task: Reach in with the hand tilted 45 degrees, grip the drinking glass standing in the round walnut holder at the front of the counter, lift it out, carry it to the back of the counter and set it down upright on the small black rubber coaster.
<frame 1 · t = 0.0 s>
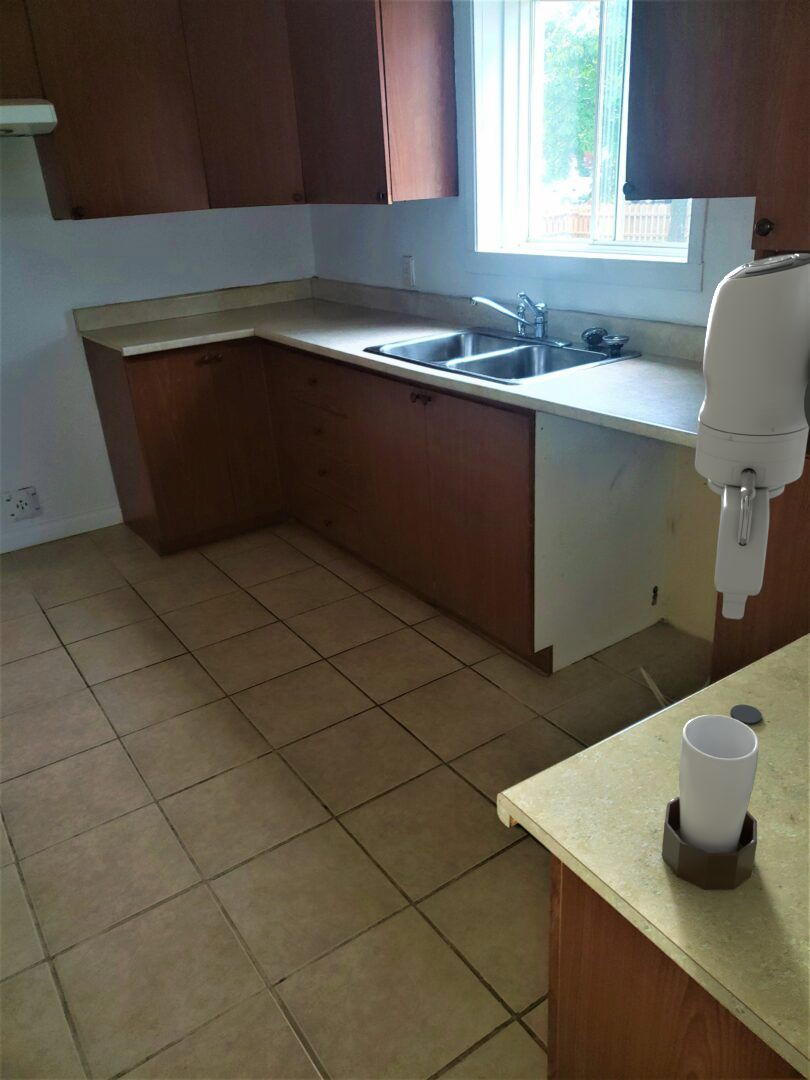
hand: (733, 589, 77), 26 cm above the countertop, tool pointing down, fingers open, 8 cm apart
coaster: (745, 715, 100), on the countertop
drinking glass: (706, 856, 82), resting in holder
holder: (706, 855, 82), on the countertop
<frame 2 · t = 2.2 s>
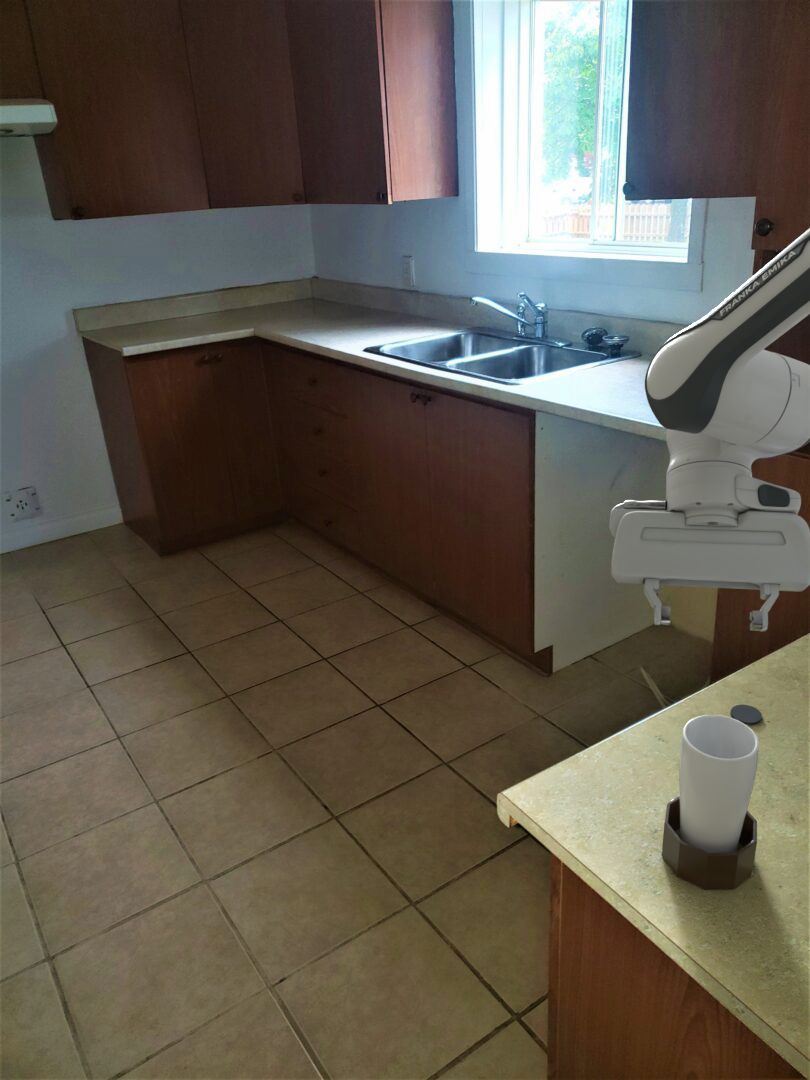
hand: (709, 627, 84), 19 cm above the countertop, tool tilted 45°, fingers open, 8 cm apart
nothing on the countertop moved.
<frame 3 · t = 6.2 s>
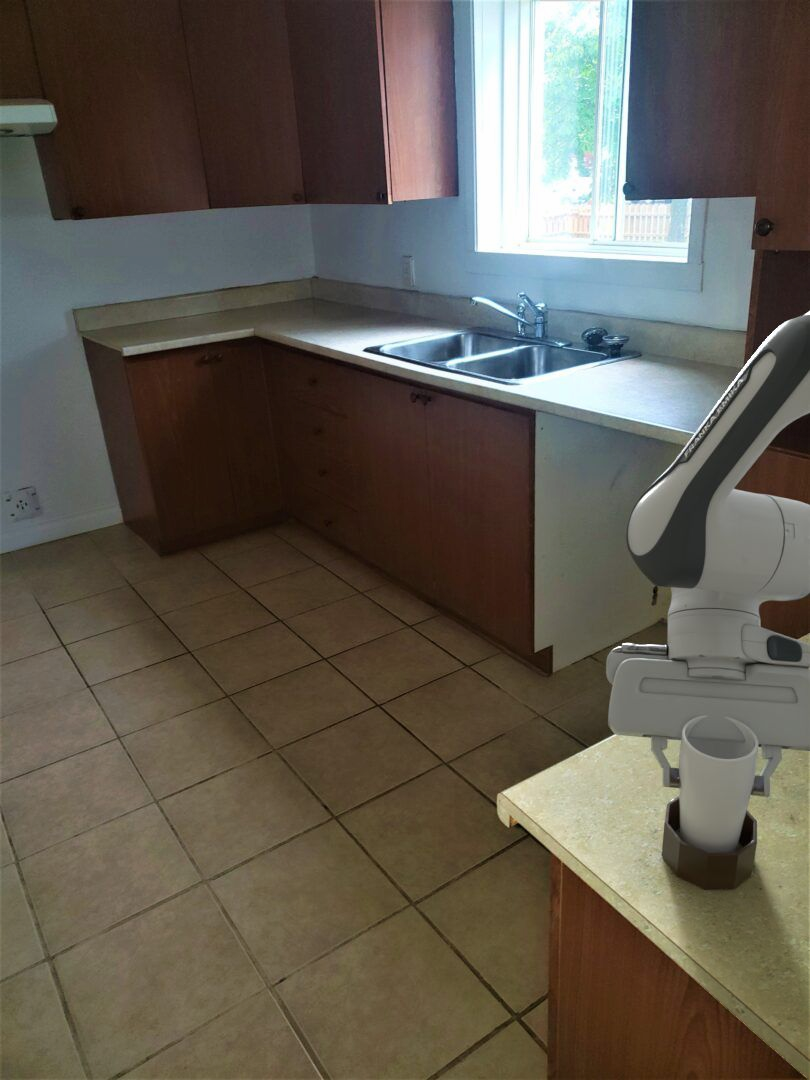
hand: (715, 791, 77), 9 cm above the countertop, tool tilted 45°, fingers closed on drinking glass, 6 cm apart
drinking glass: (706, 856, 82), resting in holder, touching gripper
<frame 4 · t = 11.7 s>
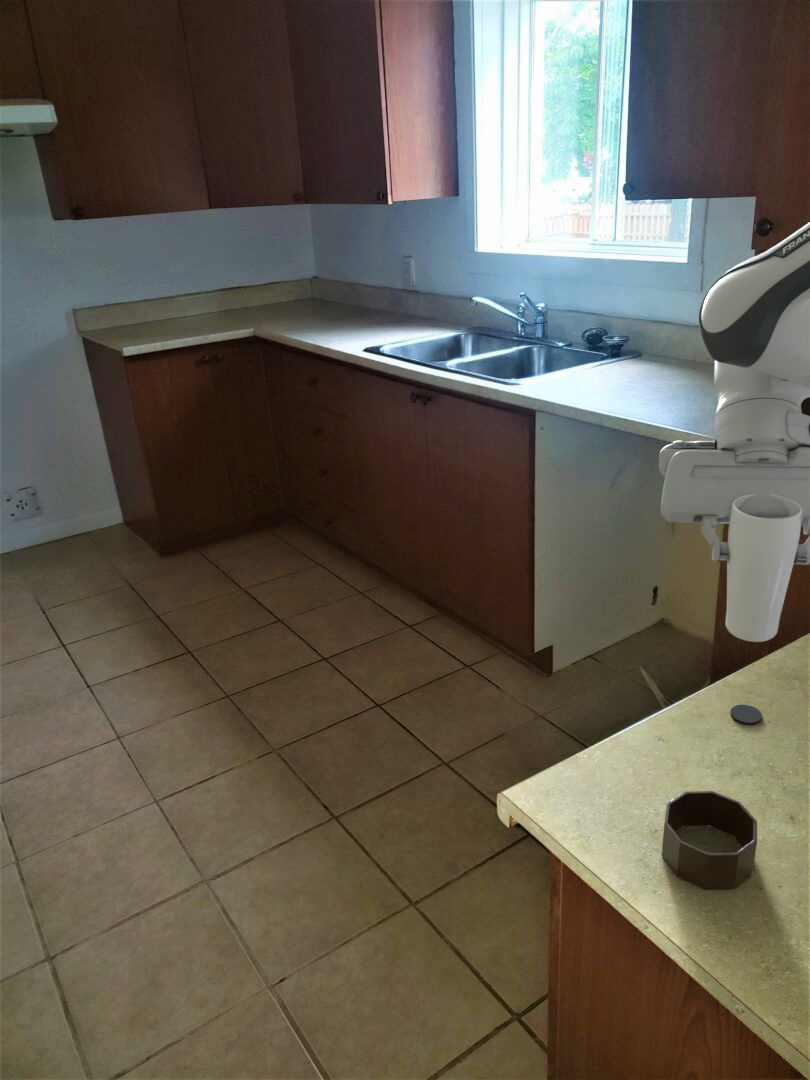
hand: (761, 561, 85), 24 cm above the countertop, tool tilted 45°, fingers closed on drinking glass, 6 cm apart
drinking glass: (750, 632, 89), point 15 cm above the countertop, touching gripper
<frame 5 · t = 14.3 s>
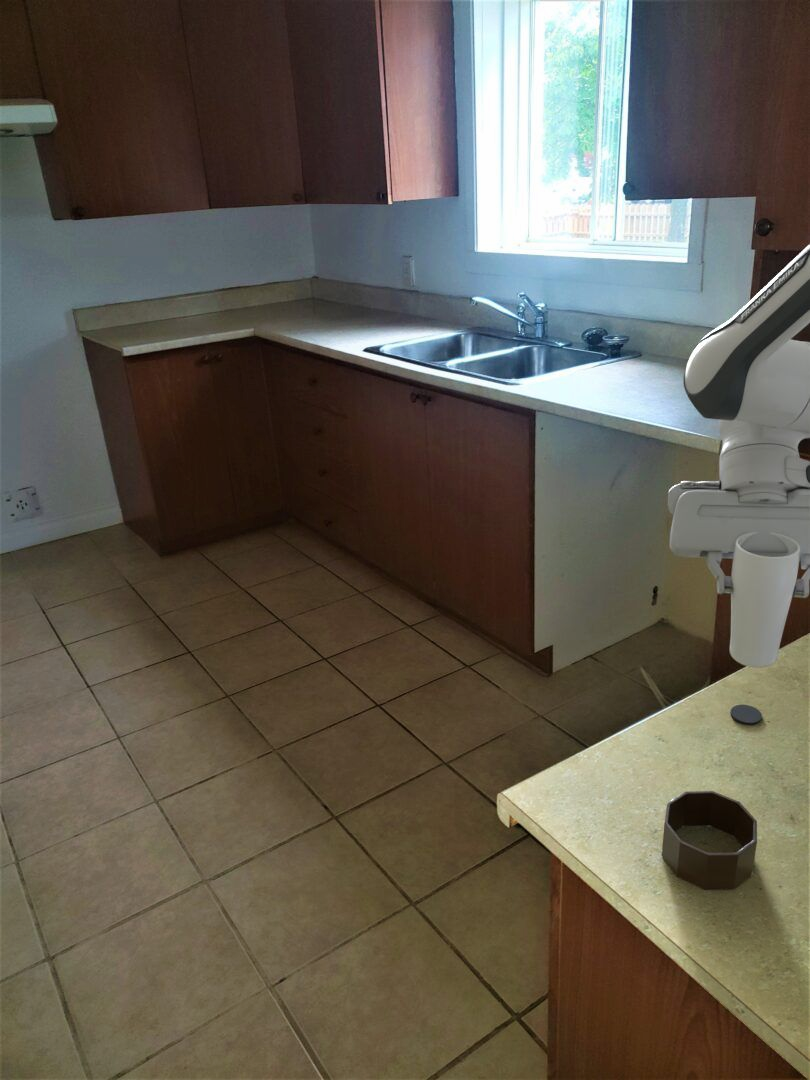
hand: (762, 594, 92), 17 cm above the countertop, tool tilted 45°, fingers closed on drinking glass, 6 cm apart
drinking glass: (752, 658, 97), point 8 cm above the countertop, touching gripper
when the fingers open (9 cm above the countertop, at t = 17.1 s): drinking glass stays where it is, resting on coaster.
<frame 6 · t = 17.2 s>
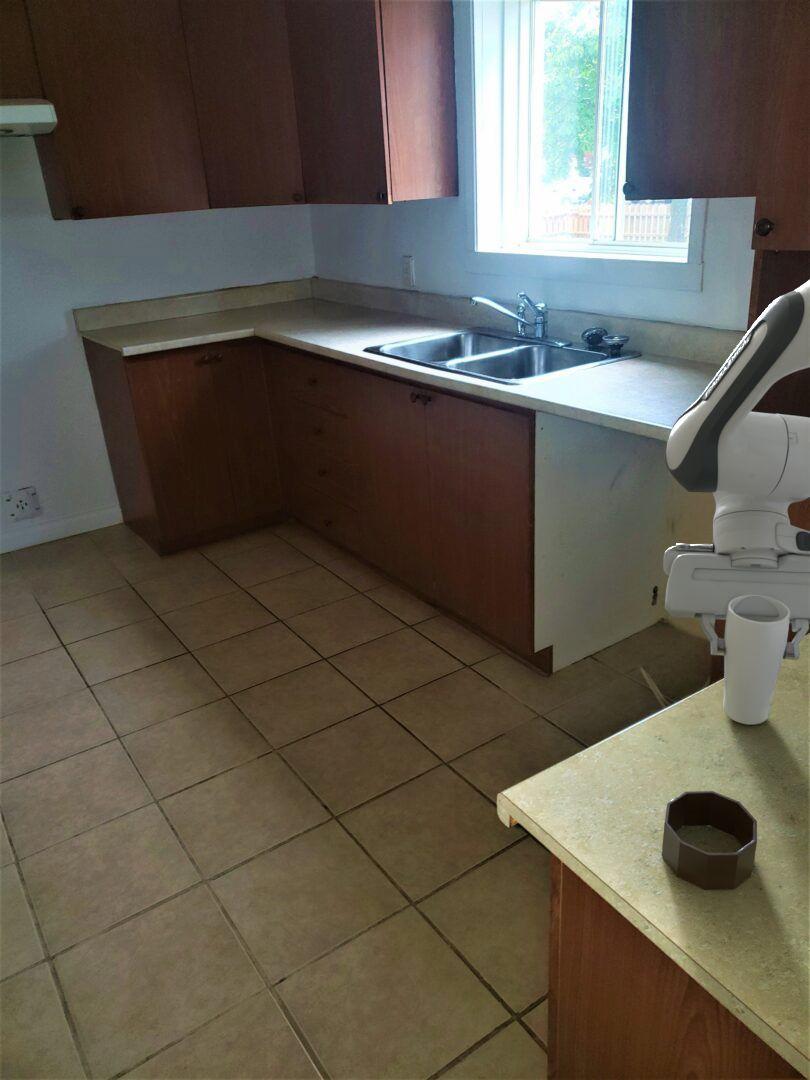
hand: (754, 656, 96), 9 cm above the countertop, tool tilted 45°, fingers open, 7 cm apart
drinking glass: (745, 714, 100), resting on coaster
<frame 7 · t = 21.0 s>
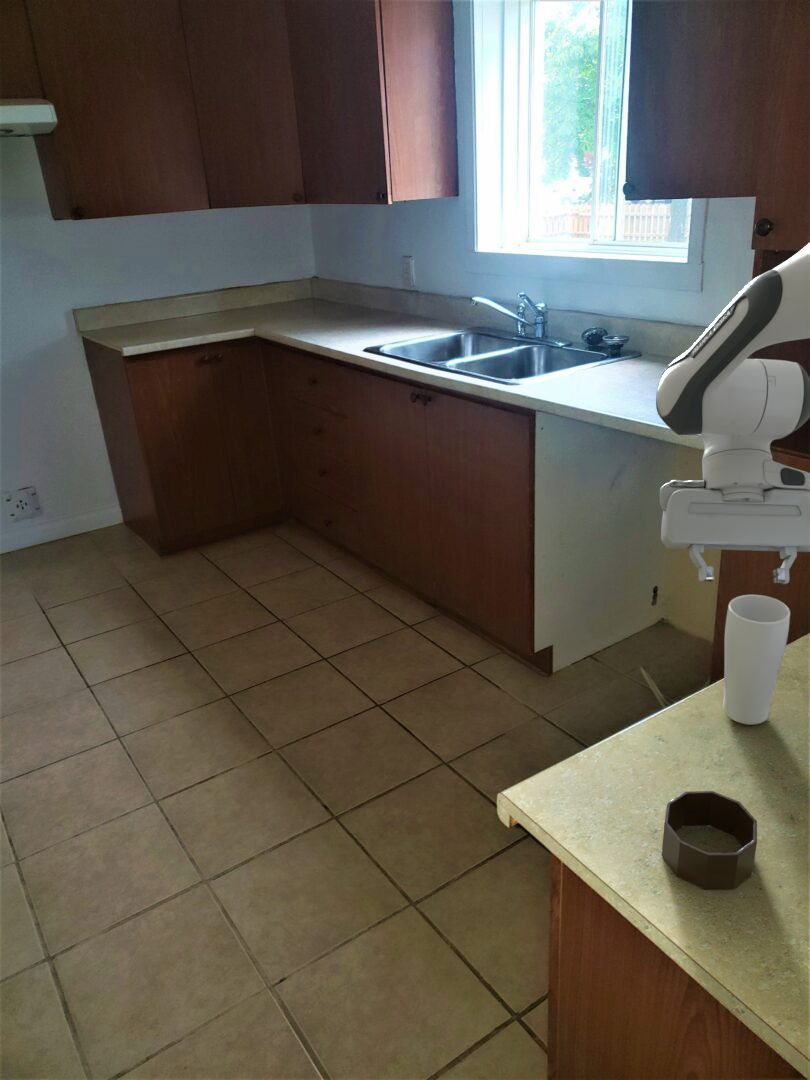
hand: (743, 582, 106), 12 cm above the countertop, tool tilted 40°, fingers open, 8 cm apart
nothing on the countertop moved.
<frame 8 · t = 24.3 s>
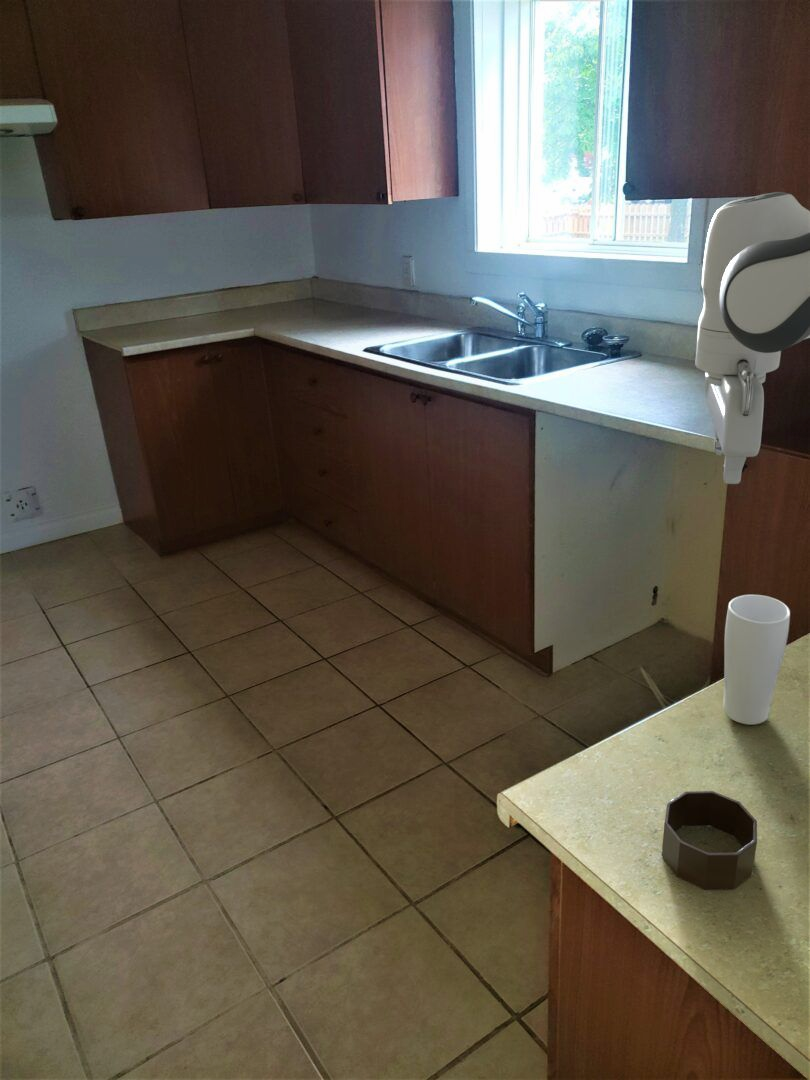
hand: (726, 466, 97), 29 cm above the countertop, tool pointing down, fingers open, 8 cm apart
nothing on the countertop moved.
at the end: drinking glass 0.1 cm off-centre on the coaster, point 0.1 cm above the coaster's base; drinking glass tilted 0°; drinking glass touching coaster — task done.
